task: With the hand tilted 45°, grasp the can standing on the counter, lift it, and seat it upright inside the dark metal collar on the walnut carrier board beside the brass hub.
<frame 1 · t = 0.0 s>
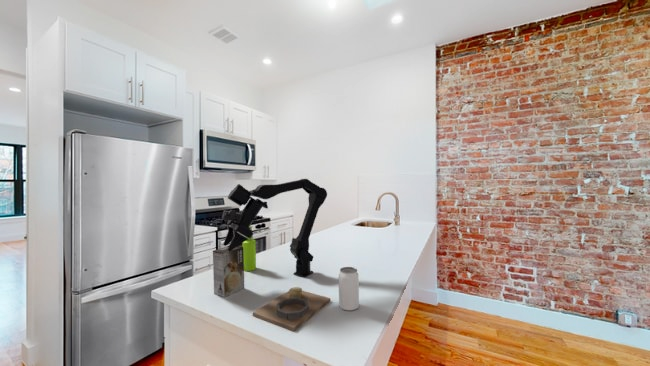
hand: (226, 247, 96), 16 cm above the counter, tool tilted 35°, fingers open, 9 cm apart
coffee box: (229, 291, 96), on the counter, touching gripper
can: (348, 306, 83), on the counter
soap dispenser: (248, 269, 119), on the counter
carrier board: (293, 308, 82), on the counter
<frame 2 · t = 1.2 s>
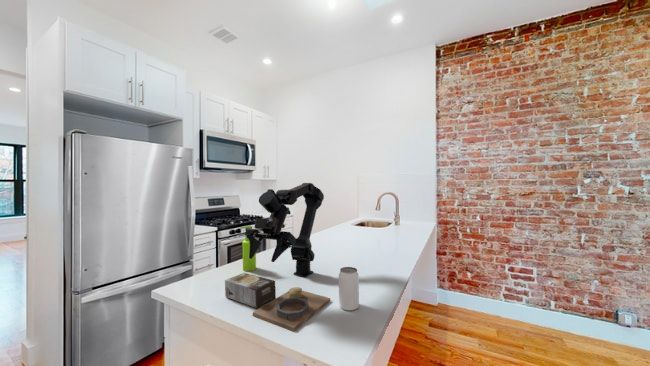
hand: (261, 260, 86), 15 cm above the counter, tool tilted 35°, fingers open, 9 cm apart
coffee box: (234, 284, 94), point 3 cm above the counter
everything else where it was.
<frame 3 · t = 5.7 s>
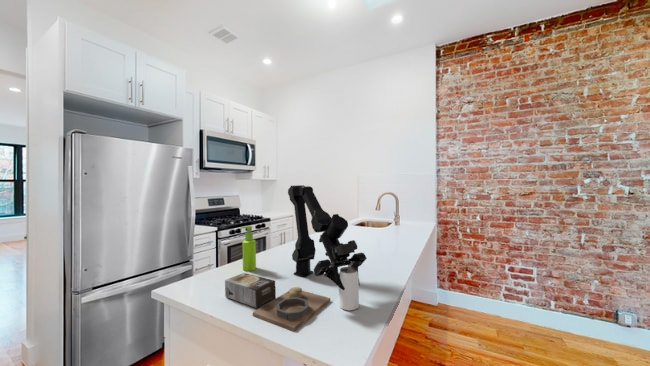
hand: (351, 287, 82), 7 cm above the counter, tool tilted 45°, fingers closed on can, 5 cm apart
can: (348, 306, 83), on the counter, touching gripper
everything else where it was.
when the fingers open (10 cm above the counter, at t = 9.3 s): can drops 2 cm, resting on carrier board.
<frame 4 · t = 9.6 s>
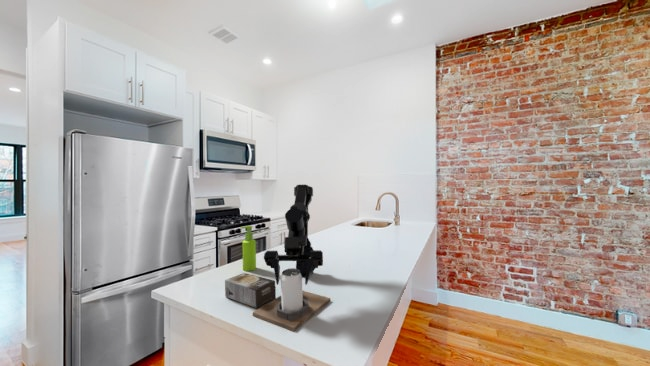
hand: (291, 284, 77), 10 cm above the counter, tool tilted 45°, fingers open, 8 cm apart
can: (292, 310, 79), point 1 cm above the counter, touching carrier board
everything else where it was.
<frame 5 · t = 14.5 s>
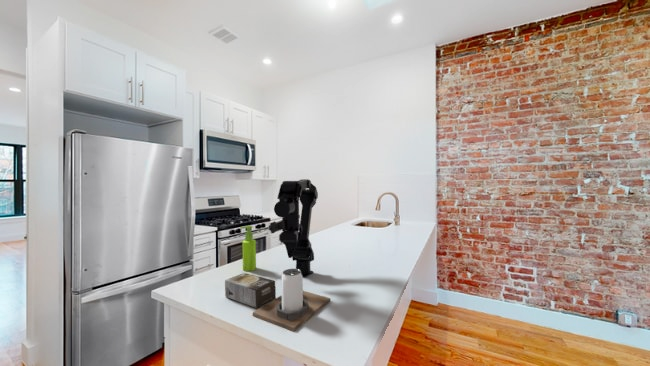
hand: (292, 254, 98), 13 cm above the counter, tool pointing down, fingers open, 9 cm apart
nothing on the counter moved.
at the end: can 0.4 cm from the target spot on the carrier board, point 0.8 cm above the carrier board's base; can tilted 0°; the gripper is holding nothing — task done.
